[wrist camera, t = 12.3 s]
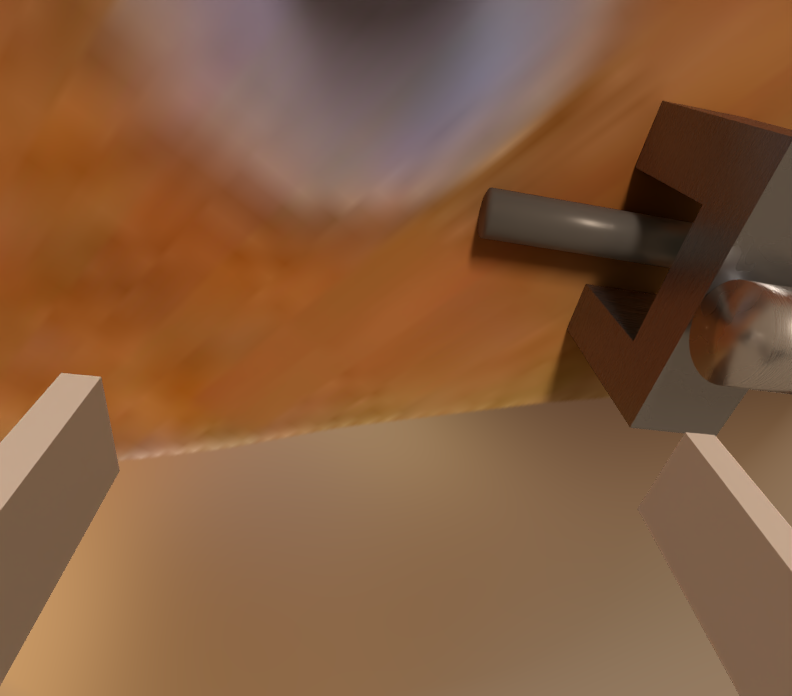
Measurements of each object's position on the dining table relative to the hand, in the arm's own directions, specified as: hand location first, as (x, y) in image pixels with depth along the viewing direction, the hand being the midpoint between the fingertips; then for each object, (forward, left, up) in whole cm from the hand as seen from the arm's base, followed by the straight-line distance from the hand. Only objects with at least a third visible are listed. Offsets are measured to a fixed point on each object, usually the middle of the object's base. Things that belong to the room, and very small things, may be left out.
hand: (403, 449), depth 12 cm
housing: (+17, 0, -21) cm, 27 cm away
